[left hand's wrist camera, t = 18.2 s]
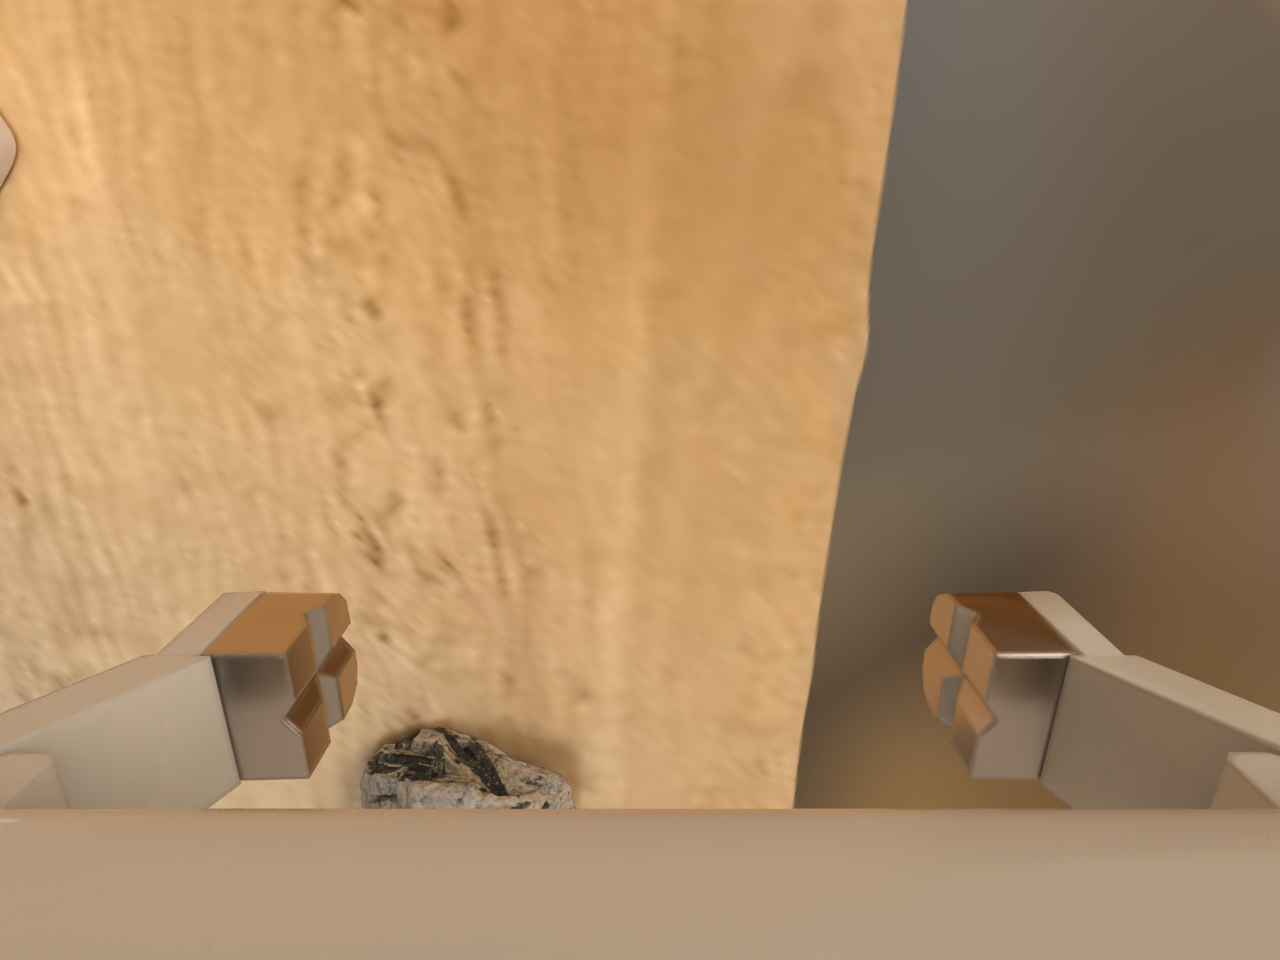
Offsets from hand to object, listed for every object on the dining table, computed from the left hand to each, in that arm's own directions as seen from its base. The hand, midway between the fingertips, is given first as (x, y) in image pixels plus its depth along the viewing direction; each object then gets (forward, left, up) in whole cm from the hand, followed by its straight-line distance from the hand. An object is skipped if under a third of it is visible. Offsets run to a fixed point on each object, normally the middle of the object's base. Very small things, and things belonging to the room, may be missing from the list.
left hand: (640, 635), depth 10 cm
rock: (+29, -20, -33) cm, 48 cm away
